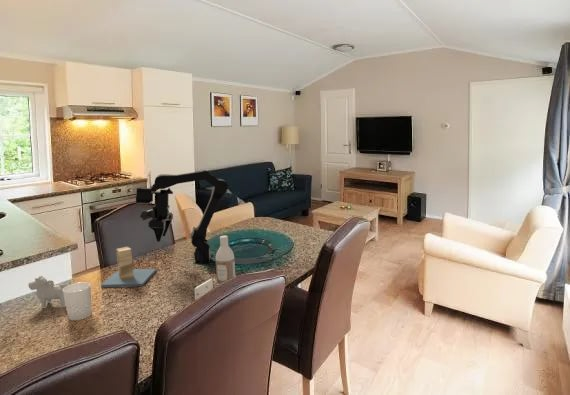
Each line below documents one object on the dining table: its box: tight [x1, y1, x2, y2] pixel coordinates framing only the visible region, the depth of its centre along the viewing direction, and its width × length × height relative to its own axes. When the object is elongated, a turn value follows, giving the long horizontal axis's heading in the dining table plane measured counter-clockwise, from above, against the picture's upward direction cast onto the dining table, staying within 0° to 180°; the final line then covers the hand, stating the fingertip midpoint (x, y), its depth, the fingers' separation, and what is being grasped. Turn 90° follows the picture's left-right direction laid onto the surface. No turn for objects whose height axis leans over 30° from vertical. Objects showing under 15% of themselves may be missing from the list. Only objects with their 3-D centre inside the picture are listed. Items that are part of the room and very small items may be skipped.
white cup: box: [63, 281, 93, 321], centre depth 122 cm, size 8×8×10 cm
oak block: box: [115, 246, 134, 280], centre depth 151 cm, size 4×4×12 cm
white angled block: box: [194, 277, 214, 301], centre depth 127 cm, size 4×10×9 cm, turn 84°
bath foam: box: [215, 235, 236, 285], centre depth 141 cm, size 7×7×20 cm
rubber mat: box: [100, 268, 157, 288], centre depth 154 cm, size 16×16×1 cm
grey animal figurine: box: [27, 275, 68, 309], centre depth 130 cm, size 5×13×11 cm, turn 93°
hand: (161, 238), depth 165 cm, fingers open, 9 cm apart
